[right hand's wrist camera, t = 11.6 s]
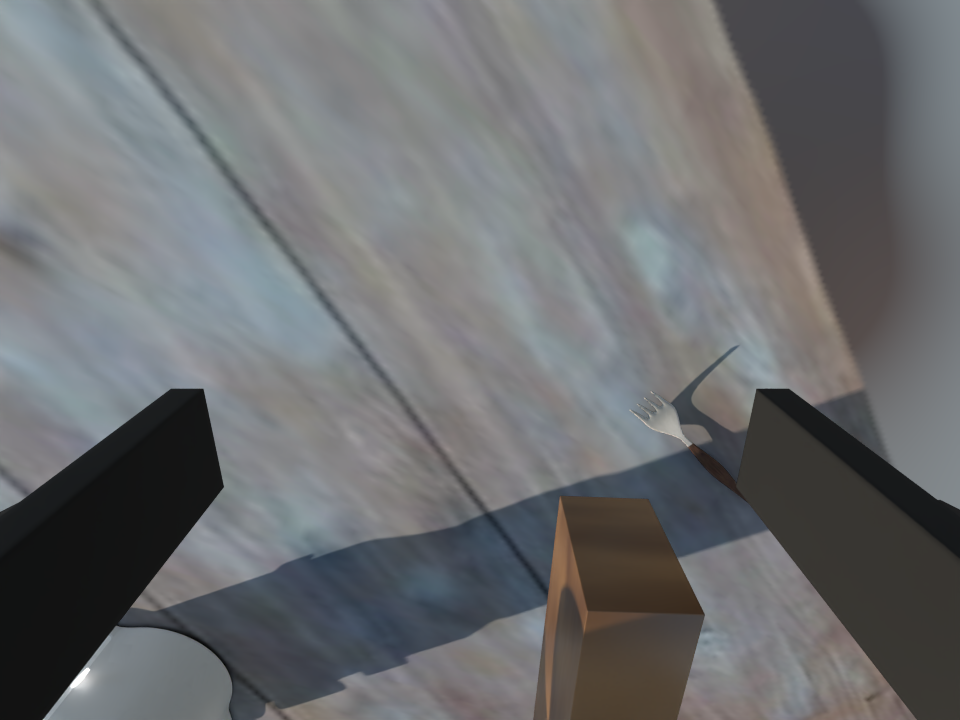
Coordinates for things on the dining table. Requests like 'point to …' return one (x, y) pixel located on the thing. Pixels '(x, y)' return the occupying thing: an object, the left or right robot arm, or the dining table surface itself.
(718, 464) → the fork
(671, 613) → the bar
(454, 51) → the dining table surface
